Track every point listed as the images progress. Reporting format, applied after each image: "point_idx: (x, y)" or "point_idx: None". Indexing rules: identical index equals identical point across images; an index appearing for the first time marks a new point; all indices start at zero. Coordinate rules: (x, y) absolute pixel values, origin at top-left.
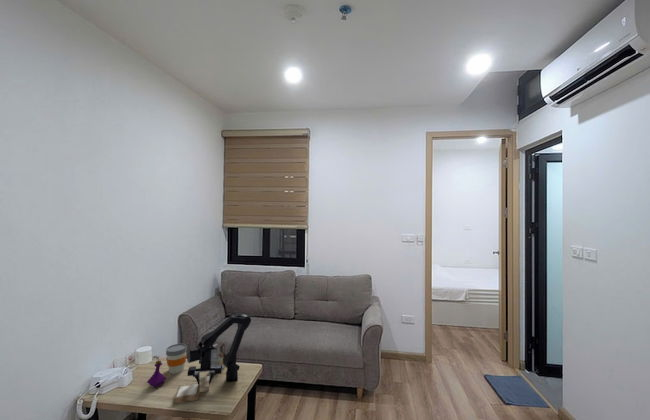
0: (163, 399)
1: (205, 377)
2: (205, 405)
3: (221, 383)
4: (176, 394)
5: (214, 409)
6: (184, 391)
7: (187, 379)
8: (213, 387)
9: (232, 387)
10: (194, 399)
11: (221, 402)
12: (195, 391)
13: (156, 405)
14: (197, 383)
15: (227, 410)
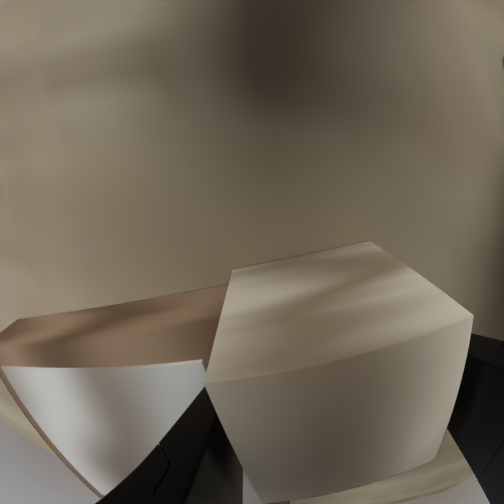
0: (8, 395)
1: (371, 391)
2: (360, 491)
3: (493, 188)
4: (73, 469)
5: (411, 494)
6: (111, 466)
7: (3, 71)
8: None
9: None
10: None
11: (456, 453)
12: (244, 489)
13: (25, 436)
14: (169, 336)
15: (463, 478)
